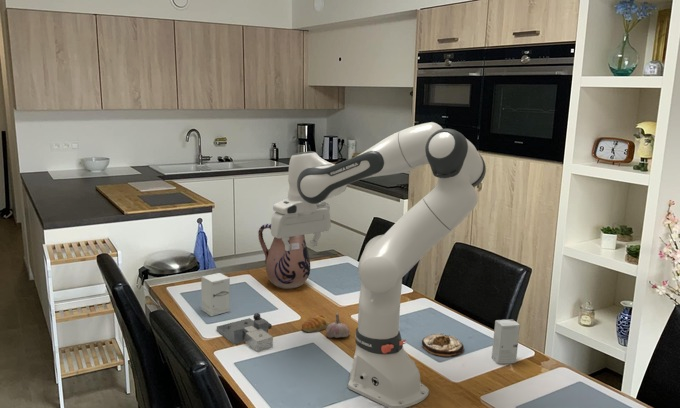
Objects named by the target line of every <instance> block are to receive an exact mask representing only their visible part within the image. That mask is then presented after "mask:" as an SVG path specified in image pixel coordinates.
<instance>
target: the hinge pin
mask: <svg viewBox="0 0 680 408" xmlns="http://www.w3.org/2000/svg"><path fill="white" fill-rule="evenodd" d="M253 319H254V321H257V320H261V319H263V318H262V317H261V314H260V313H259V312H256V313H254V314H253ZM272 327H273V326H272V324H271V323H270V322H268V330H269V329H271V328H272Z"/></svg>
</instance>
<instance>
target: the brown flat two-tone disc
mask: <svg viewBox="0 0 680 408" xmlns="http://www.w3.org/2000/svg"><path fill="white" fill-rule="evenodd" d="M421 345H422V347H423V348H424V350H425V351H426V352H427V353H428V354H430V355H433V356H437V357H441V358H443V357H444V358H447V357H455V356H458V355H459V354H462V355H464V352H463V350H464V349H465V347H464V344H463V342H462V341H460V340H459V339H458V338H456V337H455V336H453V335H450V334H449V335H446V334H444V333H433V334H429V335H427V336H425V337H423V338H422V340H421Z"/></svg>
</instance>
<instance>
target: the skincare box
mask: <svg viewBox="0 0 680 408" xmlns="http://www.w3.org/2000/svg"><path fill="white" fill-rule="evenodd" d="M520 328H521V324H519V322H517V321H515V320H514V319H496V320H495V321H494V329H493V330H494V331H493V341H492V348H491V349H492V350H491V359H492V360H493V361H494V362H495V363H496V364H497V365H501V364H503V365H505V364H516V363H517V358H518V357H517V354H518V347H519V346H518V345H519V340H520V339H519V336H520Z"/></svg>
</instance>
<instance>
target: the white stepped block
mask: <svg viewBox="0 0 680 408" xmlns="http://www.w3.org/2000/svg"><path fill="white" fill-rule="evenodd" d="M244 343H245V345H246V346H248V347H250V348H251V349H252V350H253V351H255V352H256V353H259V352H262V351H265V350H268V349H272V348H274V336H273V335H271V334H269V332H268V333H267V332H265V331H264V330H262V329H256V328H255V327H253V326H249V327H245V328H244Z"/></svg>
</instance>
